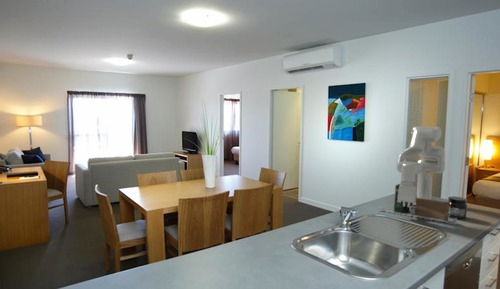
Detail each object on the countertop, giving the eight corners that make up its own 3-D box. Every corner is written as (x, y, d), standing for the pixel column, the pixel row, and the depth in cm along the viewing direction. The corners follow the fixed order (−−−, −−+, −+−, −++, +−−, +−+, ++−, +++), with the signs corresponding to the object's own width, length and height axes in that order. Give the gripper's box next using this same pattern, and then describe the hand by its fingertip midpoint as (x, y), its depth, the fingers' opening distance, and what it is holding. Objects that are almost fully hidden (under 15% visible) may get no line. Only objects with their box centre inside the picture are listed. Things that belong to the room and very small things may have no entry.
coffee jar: (404, 214, 198) (406, 185, 196) (392, 211, 203) (393, 183, 202) (410, 210, 204) (411, 183, 203) (397, 208, 210) (399, 181, 208)
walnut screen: (411, 213, 195) (412, 196, 194) (448, 220, 183) (449, 202, 182) (408, 217, 187) (409, 200, 186) (446, 224, 175) (447, 205, 174)
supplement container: (460, 214, 197) (461, 196, 196) (470, 220, 187) (471, 200, 186) (442, 214, 198) (444, 195, 197) (452, 219, 188) (453, 200, 187)
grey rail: (380, 209, 207) (380, 205, 206) (456, 223, 181) (456, 218, 180) (378, 210, 204) (379, 206, 204) (456, 224, 178) (456, 219, 178)
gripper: (422, 184, 186) (420, 213, 188) (396, 180, 195) (394, 208, 197) (420, 186, 180) (418, 216, 182) (393, 182, 189) (391, 211, 191)
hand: (406, 212), depth 189 cm, fingers closed
